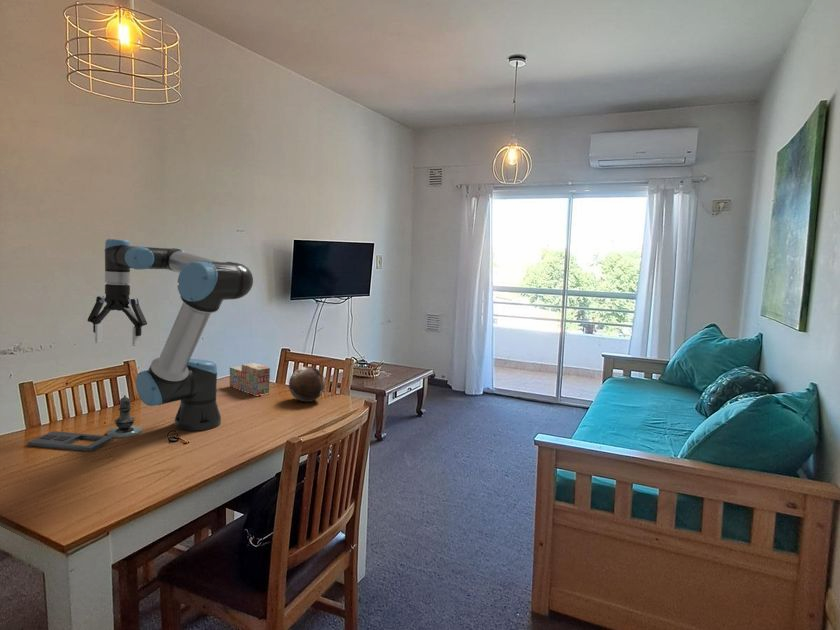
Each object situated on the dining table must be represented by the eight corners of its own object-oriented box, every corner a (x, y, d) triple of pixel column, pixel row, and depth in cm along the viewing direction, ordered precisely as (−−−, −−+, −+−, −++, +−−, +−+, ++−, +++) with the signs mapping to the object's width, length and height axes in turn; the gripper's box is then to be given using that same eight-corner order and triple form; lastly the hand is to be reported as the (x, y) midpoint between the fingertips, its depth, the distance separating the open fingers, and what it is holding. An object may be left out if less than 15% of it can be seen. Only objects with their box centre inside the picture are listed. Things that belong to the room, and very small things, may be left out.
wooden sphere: (280, 400, 218) (282, 366, 216) (307, 394, 230) (308, 361, 229) (305, 408, 209) (306, 372, 208) (331, 401, 222) (333, 367, 220)
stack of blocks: (229, 387, 234) (229, 360, 233) (241, 385, 239) (241, 359, 238) (257, 397, 221) (258, 369, 220) (269, 394, 226) (270, 367, 225)
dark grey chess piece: (125, 434, 166) (125, 398, 165) (110, 431, 167) (110, 396, 166) (138, 428, 172) (139, 393, 171) (123, 426, 173) (124, 391, 172)
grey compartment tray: (113, 440, 163) (113, 436, 163) (91, 451, 153) (91, 447, 153) (53, 434, 164) (53, 430, 164) (27, 445, 154) (27, 441, 154)
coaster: (147, 429, 175) (147, 426, 174) (129, 439, 165) (129, 436, 165) (119, 426, 175) (119, 424, 175) (99, 436, 165) (99, 434, 165)
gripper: (158, 285, 182) (157, 344, 185) (90, 280, 184) (90, 339, 186) (145, 286, 175) (145, 348, 177) (75, 281, 176) (75, 342, 179)
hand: (117, 343), depth 182 cm, fingers open, 13 cm apart
